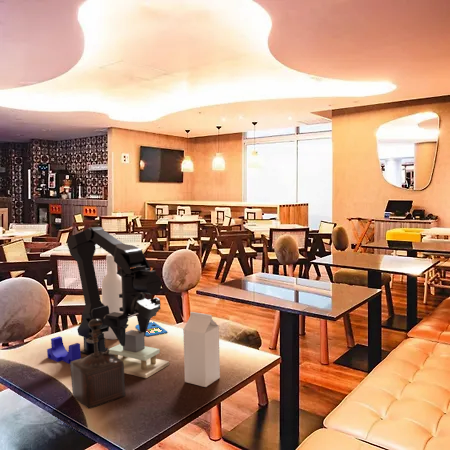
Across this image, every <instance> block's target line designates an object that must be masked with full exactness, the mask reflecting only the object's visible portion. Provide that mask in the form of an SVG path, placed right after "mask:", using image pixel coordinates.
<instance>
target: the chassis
mask: <svg viewBox="0 0 450 450" xmlns="http://www.w3.org/2000/svg"><path fill="white" fill-rule="evenodd" d="M113 355H115V354H113ZM115 357H117V358H118V359H120V360H122V361H123V363H124V374H126V375H130V376H135V377H139V378H144V379H148V378H149V377H151V376H152V375H154V374H156V373H158V372H159V371H162V369H165V368H166V367H168V366H170V361H168V360H164V359H159V358H157V355H155V356H153V357H151V358H149V359H147V360H146V361H143V360H139V359H134V358H129V357H125V356H120V355H115Z"/></svg>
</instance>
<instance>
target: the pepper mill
mask: <svg viewBox="0 0 450 450" xmlns="http://www.w3.org/2000/svg"><path fill="white" fill-rule="evenodd" d="M88 325H89V328H90V329H91V330H92V337H90V338H88V339H86V342H88V343H94V353H92V354H90V355H88V354H87V356H84V357H81V359H78V360H74V361H71V363H70V364H69V365H70V376H71V377H70V378H71V379H70V380H71V389H72V393H71V394H72V396H73V398H74V399H75V400H77V402H79V404H82V405H83V406H85V407H86V408H87V409H92V408H96V407H99V406H102V405H104V404H107V403H111V402H113V401H115V400H119V399H121V398H124V397H126V392H125V389H126V388H125V373H124V363H123V361H122V360H120V359H118V358H117V357H115V355H113V354H111V353H109V350H106V351H104V352H100V351H98V344H97V343H98V339H97V338H98V336H99V335H101V334H102V333H101V332H100V328H101V326H102V321H101V320H100V319H92V320H91V321H90V322H89V324H88Z"/></svg>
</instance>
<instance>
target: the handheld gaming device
mask: <svg viewBox="0 0 450 450" xmlns="http://www.w3.org/2000/svg"><path fill="white" fill-rule="evenodd" d="M152 322H153V323H152ZM154 328H155V329H158V328H159V329H160V330H162V331H161V332H158V331H154V332H155V333H150V331H151V330H154ZM135 329H136V330H137V331H140V329H139V324H136V325H135ZM147 331H148V332H149V333H150V334H149V333H148V332H146V334H145V337H148V338H149V337H153V336H158V335H159V334H160V335H165V334H167V333H168V330H166V329H165V328H163V327H162V326H161V325H159V324H157V323H156V322H155V321H151V322H150V321H149V324H148V328H147ZM164 333H165V334H164Z"/></svg>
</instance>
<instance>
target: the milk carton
mask: <svg viewBox="0 0 450 450" xmlns="http://www.w3.org/2000/svg"><path fill="white" fill-rule="evenodd" d="M182 329H183V334H182V335H183V358H184V359H183V360H184V361H183V364H184V367H183V369H184V382H185V383H188V384H192V385H195V386H199V387H203V388H207V387H208V386H210V385H211V384H213V383H215V382H216V381H218V379H220V378H221V369H220V368H221V366H220V359H221V358H220V326H219V325H218V324H217V322H215V320H213V315H212V314H207V313H201V312H195V311H190V316H189V318H188V320H187V322H186V323H185V324H184V327H183V328H182Z"/></svg>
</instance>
